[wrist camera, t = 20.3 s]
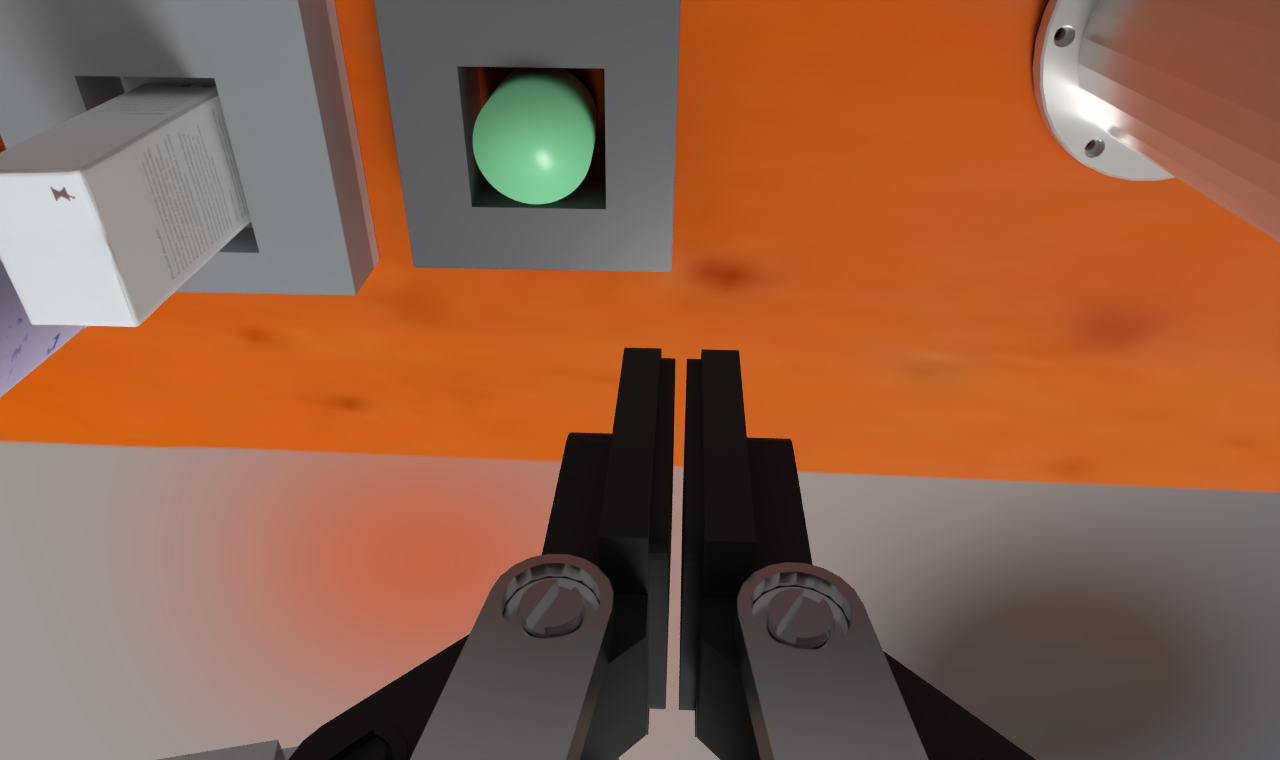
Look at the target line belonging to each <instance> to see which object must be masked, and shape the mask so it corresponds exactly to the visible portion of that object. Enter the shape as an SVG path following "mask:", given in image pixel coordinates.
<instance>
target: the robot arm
mask: <svg viewBox="0 0 1280 760" xmlns="http://www.w3.org/2000/svg"><path fill="white" fill-rule="evenodd" d="M1059 28H1061V34H1060V36H1058V37H1057V38H1054V35H1055V33H1056V31H1057V30H1058V29H1059ZM1033 82H1034V94H1035V98H1036V101H1037V104H1038V108H1039V111H1040V114H1041V118H1042V119H1043V121H1044V123H1045V125H1046V126H1047V128H1048V130H1049V132H1050V133H1051V135H1052V137H1053V138H1054V139H1055V140H1056V141H1057V142H1058V143H1059V144H1060V145H1061V146H1062V147H1063V148H1064V149H1065V150H1066V151H1067V152H1068V153H1069V154H1070V155H1071V156H1073V157H1074V158H1075V159H1077V160H1078V161H1079V162H1081V163H1082V164H1084V165H1085V166H1087V167H1089V168H1092V169H1094V170H1096V171H1098V172H1100V173H1102V174H1105V175H1107V176H1112V177H1116V178H1121V179H1126V180H1133V181H1158V180H1164V179H1171V178H1178V179H1179V180H1181V181H1183V182H1184V183H1186V184H1187V185H1189V186H1191V187H1192V188H1194V189H1195V190H1197V191H1199V192H1200V193H1202V194H1203V195H1205V196H1207V197H1208V198H1210V199H1211V200H1213V201H1215V202H1216V203H1218V204H1219V205H1221V206H1222V207H1224V208H1226V209H1227V210H1229V211H1230V212H1232V213H1234V214H1235V215H1237V216H1238V217H1240V218H1242V219H1243V220H1245V221H1246V222H1248V223H1250V224H1251V225H1253V226H1254V227H1256V228H1258V229H1259V230H1261V231H1262V232H1264V233H1265V234H1267V235H1269V236H1270V237H1272V238H1273V239H1275V240H1277V241H1278V242H1280V0H1049V2H1048V4H1047V6H1046V8H1045V11H1044V14H1043V17H1042V21H1041V24H1040V27H1039V31H1038V34H1037V37H1036V42H1035V51H1034V59H1033ZM1090 141H1091V143H1090V145H1089V146H1087V147H1086V145H1087V144H1088V143H1089V142H1090ZM674 401H675V359H671V358H661V349H657V348H625V349H624V355H623V362H622V369H621V376H620V383H619V390H618V398H617V405H616V412H615V419H614V426H613V433H612V434H603V433H569V435H568V438H567V441H566V446H565V450H564V455H563V460H562V465H561V469H560V473H559V478H558V483H557V487H556V492H555V497H554V501H553V506H552V510H551V515H550V520H549V524H548V529H547V533H546V538H545V543H544V548H543V552H542V555H541V556H536V557H531V558H529V559H526V560H524V561H522V562H520V563H517V564H515V565H514V566H512V567H511V568H510V569H509V570H508V571H506V572H505V573H504V574H502V575H501V576H500V577H499V579H498V580H497V582H496V583H495V584H494V586H493V587H492V589H491V590H490V593H489V595H488V597H487V599H486V601H485V603H484V605H483V607H482V609H481V611H480V614H479V616H478V618H477V620H476V622H475V624H474V626H473V628H472V631H471V633H470V634H469V635H467V636H465V637H464V638H462V639H461V640H459V641H457V642H456V643H454V644H453V645H451V646H449V647H448V648H446V649H445V650H443V651H441V652H440V653H438V654H437V655H435V656H433V657H432V658H430V659H429V660H427V661H425V662H424V663H422V664H420V665H419V666H417V667H416V668H414V669H413V670H411V671H409V672H408V673H406V674H404V675H403V676H401V677H400V678H398V679H397V680H395V681H393V682H392V683H390V684H388V685H387V686H385V687H384V688H382V689H380V690H379V691H378V692H376V693H374V694H372V695H371V696H369V697H368V698H366V699H364V700H363V701H361V702H360V703H358V704H356V705H355V706H353V707H352V708H350V709H348V710H347V711H345V712H344V713H342V714H340V715H339V716H337V717H335V718H334V719H332V720H331V721H329V722H327V723H326V724H324V725H323V726H321V727H320V728H319V729H317V730H316V731H315V732H314V733H312V734H311V735H310V736H309V737H307V738H306V739H305V740H304V741H303V742H302V743H301V744H300V745H299V746H297V747H291V748H285V749H281V746H280V744H279V741H278V740H274V741H267V742H261V743H255V744H249V745H243V746H237V747H231V748H225V749H219V750H213V751H207V752H201V753H195V754H188V755H183V756H176V757H170V758H164V759H158V760H619V757H620V756H621V755H622V754H623V753H625V752H626V751H627V750H628V749H630V748H631V747H632V746H633V745H634V744H636V743H637V742H638V741H639V740H640V739H642V738H643V737H644V736H645V735H646V734H647V735H648V726H649V725H648V724H649V708H653V709H654V708H655V709H665V707H666V678H667V646H668V619H669V588H670V587H669V586H670V559H671V558H670V557H671V530H672V493H673V448H674ZM683 480H684V481H683V512H682V513H683V514H682V566H681V567H682V568H681V622H680V676H679V679H680V680H679V710H695V737H698V739H699V740H700V741H701V742H702V743H704V744H705V745H706V746H707V747H708V748H709V749H710V750H711V751H712V752H713V753H714V754H715V755H716V756H717V757H718V758H719V759H720V760H1035V759H1034V758H1033V757H1031V756H1030V755H1028V754H1027V753H1026V752H1024V751H1023V750H1021V749H1020V748H1019V747H1017V746H1016V745H1014V744H1013V743H1011V742H1010V741H1009V740H1007V739H1006V738H1005V737H1003V736H1002V735H1000V734H999V733H998V732H996V731H995V730H993V729H992V728H991V727H989V726H988V725H986V724H985V723H983V722H982V721H981V720H979V719H978V718H977V717H975V716H974V715H972V714H971V713H969V712H968V711H967V710H965V709H964V708H962V707H961V706H960V705H958V704H957V703H955V702H954V701H952V700H951V699H950V698H948V697H947V696H945V695H944V694H943V693H941V692H940V691H939V690H937V689H936V688H934V687H933V686H931V685H930V684H929V683H927V682H926V681H925V680H923V679H922V678H920V677H919V676H917V675H916V674H915V673H913V672H912V671H911V670H909V669H908V668H906V667H905V666H903V665H902V664H901V663H899V662H898V661H896V660H895V659H894V658H892V657H891V656H890V655H888V654H887V653H885V652H884V651H883V650H882V647H881V645H880V642H879V640H878V638H877V635H876V633H875V631H874V628H873V626H872V624H871V621H870V619H869V616H868V614H867V611H866V609H865V607H864V604H863V602H862V601H861V599H860V598H859V596H858V595H857V593H856V591H855V590H854V589H853V588H852V587H851V586H850V585H849V584H848V583H846V582H845V581H844V580H843V579H842V578H841V577H839V576H837V575H835V574H834V573H832V572H830V571H828V570H826V569H824V568H821V567H817V566H814V565H812V559H811V553H810V548H809V542H808V535H807V529H806V523H805V517H804V511H803V505H802V499H801V493H800V487H799V481H798V474H797V468H796V462H795V456H794V450H793V445H792V441H791V440H790V439H775V438H747V436H746V425H745V414H744V402H743V391H742V380H741V369H740V357H739V351H738V350H702V353H701V359H687V379H686V412H685V445H684V479H683Z"/></svg>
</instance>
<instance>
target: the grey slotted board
mask: <svg viewBox="0 0 1280 760" xmlns="http://www.w3.org/2000/svg"><path fill="white" fill-rule="evenodd" d="M145 83H216V87H217V91H218V95H219V98H220V102H221V106H222V110H223V114H224V118H225V122H226V125H227V129H228V133H229V137H230V141H231V145H232V149H233V152H234V156H235V160H236V164H237V168H238V172H239V176H240V180H241V183H242V187H243V191H244V195H245V199H246V203H247V207H248V210H249V214H250V218H251V222H250V223H249V224H248V225H247V226H246V227H245V228H243V229H242V230H241V231H240V232H239V233H238V234H237V235H236V236H235V237H234V238H232V239H231V240H230V241H229V242H228V243H227V244H226V245H225V246H224V247H223V248H222V249H220V250H219V251H218V252H217V253H216V254H215V255H214V256H213V257H212V258H211V259H210V260H209V261H207V262H206V263H205V264H204V265H203V266H202V267H201V268H200V269H199V270H198V271H197V272H196V273H194V274H193V275H192V276H191V277H190V278H189V279H188V280H187V281H186V282H185V283H183V284H182V285H181V286H180V287H179V288H178V289H177V290H176V291H175V292H203V293H260V294H317V295H356V294H357V292H358V291H359V290H360V288H361V287H362V285H363V284H364V282H365V281H366V279H367V278H368V276H369V275H370V273H371V272H372V270H373V269H374V267H375V266H376V264H377V263H378V262H379V255H378V249H377V243H376V237H375V232H374V226H373V220H372V214H371V209H370V203H369V197H368V192H367V186H366V180H365V174H364V169H363V163H362V157H361V151H360V146H359V140H358V134H357V128H356V123H355V117H354V111H353V105H352V100H351V94H350V88H349V83H348V77H347V71H346V65H345V60H344V54H343V48H342V42H341V37H340V31H339V25H338V19H337V14H336V8H335V2H334V0H0V135H1V137H2V140H3V142H4V145H5V147H6V150H7V149H9V148H11V147H13V146H15V145H17V144H19V143H21V142H23V141H25V140H27V139H29V138H31V137H33V136H36V135H38V134H40V133H42V132H44V131H46V130H48V129H50V128H53V127H55V126H57V125H59V124H61V123H63V122H65V121H67V120H69V119H71V118H73V117H76V116H78V115H80V114H82V113H84V112H86V111H88V110H90V109H92V108H94V107H96V106H98V105H101V104H103V103H105V102H107V101H109V100H111V99H113V98H115V97H117V96H119V95H122V94H124V93H126V92H128V91H130V90H132V89H134V88H136V87H138V86H140V85H142V84H145Z"/></svg>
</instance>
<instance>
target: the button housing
mask: <svg viewBox="0 0 1280 760" xmlns="http://www.w3.org/2000/svg"><path fill="white" fill-rule="evenodd" d="M374 4H375V11H376V18H377V24H378V31H379V37H380V44H381V51H382V57H383V64H384V71H385V77H386V84H387V91H388V97H389V104H390V111H391V117H392V124H393V131H394V137H395V144H396V150H397V157H398V164H399V170H400V177H401V184H402V190H403V197H404V204H405V210H406V217H407V224H408V230H409V237H410V244H411V250H412V257H413V263H414V267H417V268H475V269H533V270H592V271H650V272H671V267H672V237H673V208H674V179H675V150H676V121H677V91H678V62H679V33H680V4H681V0H374ZM477 67H530V68H596V69H604V74H605V157H606V179H583V181H582V182H581V184H580V185H579V186H578V187H577V188H576V189H575V190H574V191H573V192H572V193H570V194H569V195H567V196H566V197H564V198H562V199H560V200H558V201H555V202H551V203H546V204H527V203H522V202H519V201H516V200H513V199H511V198H509V197H507V196H505V195H504V194H502V193H500V192H499V191H498V190H497V189H495V188H494V187H493V186H492V185H491V184H490V183H489V182H488V181H487V179H486V178H485V177H484V175H483V174H482V172H481V170H480V169H479V166H478V164H477V162H476V159H475V155H474V150H473V130H474V126H475V122H476V120H477V117H478V115H479V113H480V111H481V102H480V92H479V81H478V70H477Z"/></svg>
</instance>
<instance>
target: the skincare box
mask: <svg viewBox="0 0 1280 760" xmlns="http://www.w3.org/2000/svg"><path fill="white" fill-rule="evenodd" d="M250 222H251V218H250V214H249V210H248V207H247V203H246V199H245V195H244V191H243V187H242V183H241V180H240V176H239V172H238V168H237V164H236V160H235V156H234V152H233V149H232V145H231V141H230V137H229V133H228V129H227V125H226V122H225V118H224V114H223V110H222V106H221V102H220V98H219V95H218V91H217V87H216V83H145V84H142V85H140V86H138V87H136V88H134V89H132V90H130V91H128V92H126V93H124V94H122V95H119V96H117V97H115V98H113V99H111V100H109V101H107V102H105V103H103V104H101V105H98V106H96V107H94V108H92V109H90V110H88V111H86V112H84V113H82V114H80V115H78V116H76V117H73V118H71V119H69V120H67V121H65V122H63V123H61V124H59V125H57V126H55V127H53V128H50V129H48V130H46V131H44V132H42V133H40V134H38V135H36V136H33V137H31V138H29V139H27V140H25V141H23V142H21V143H19V144H17V145H15V146H13V147H11V148H9V149H7V150H5V151H3V152H1V153H0V259H1V261H2V263H3V265H4V267H5V269H6V271H7V273H8V276H9V278H10V280H11V282H12V284H13V286H14V288H15V290H16V292H17V294H18V297H19V299H20V301H21V303H22V305H23V307H24V309H25V311H26V314H27V316H28V318H29V320H30V323H31V324H32V325H81V326H125V327H137V326H139V325H140V324H141V323H142V322H143V321H144V320H145V319H147V318H148V317H149V316H150V315H151V314H152V313H153V312H154V311H155V310H156V309H157V308H158V307H159V306H160V305H161V304H162V303H163V302H164V301H165V300H166V299H168V298H169V297H170V296H171V295H172V294H173V293H174V292H175V291H176V290H177V289H178V288H179V287H180V286H181V285H182V284H183V283H185V282H186V281H187V280H188V279H189V278H190V277H191V276H192V275H193V274H194V273H196V272H197V271H198V270H199V269H200V268H201V267H202V266H203V265H204V264H205V263H206V262H207V261H209V260H210V259H211V258H212V257H213V256H214V255H215V254H216V253H217V252H218V251H219V250H220V249H222V248H223V247H224V246H225V245H226V244H227V243H228V242H229V241H230V240H231V239H232V238H234V237H235V236H236V235H237V234H238V233H239V232H240V231H241V230H242V229H243V228H245V227H246V226H247V225H248V224H249V223H250Z"/></svg>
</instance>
